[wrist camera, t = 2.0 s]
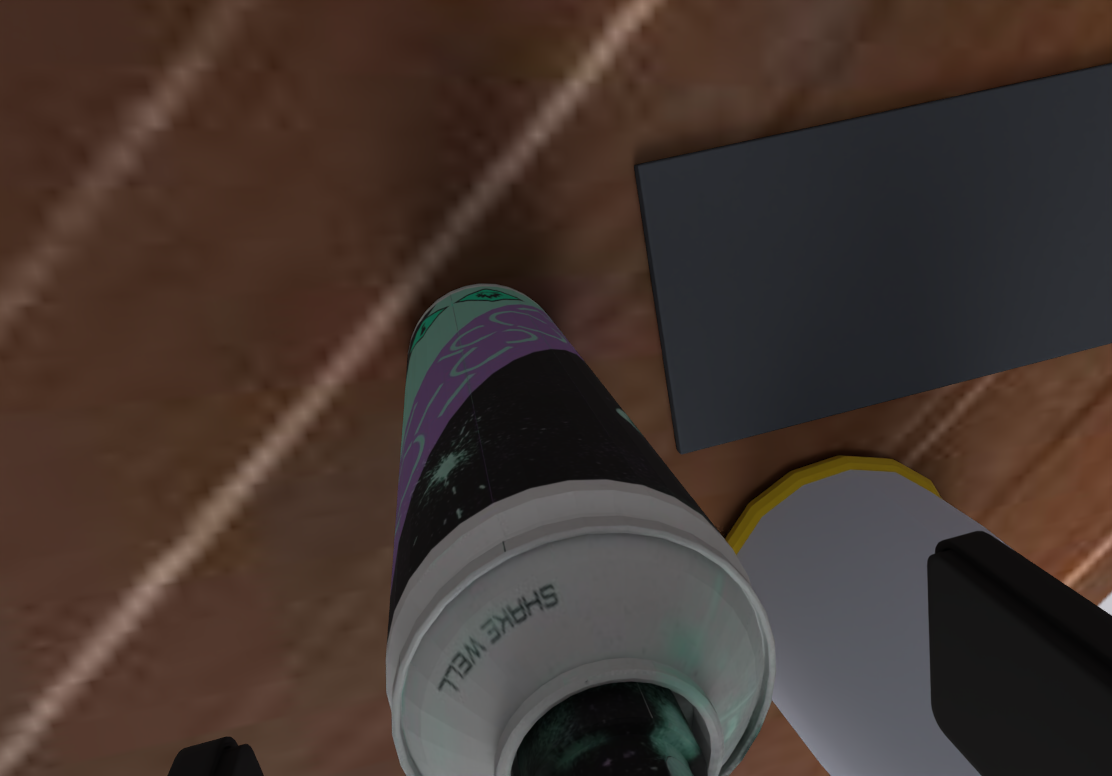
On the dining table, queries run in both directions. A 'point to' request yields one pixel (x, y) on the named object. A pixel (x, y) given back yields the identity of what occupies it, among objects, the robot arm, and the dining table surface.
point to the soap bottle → (853, 610)
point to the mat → (881, 255)
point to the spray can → (555, 571)
